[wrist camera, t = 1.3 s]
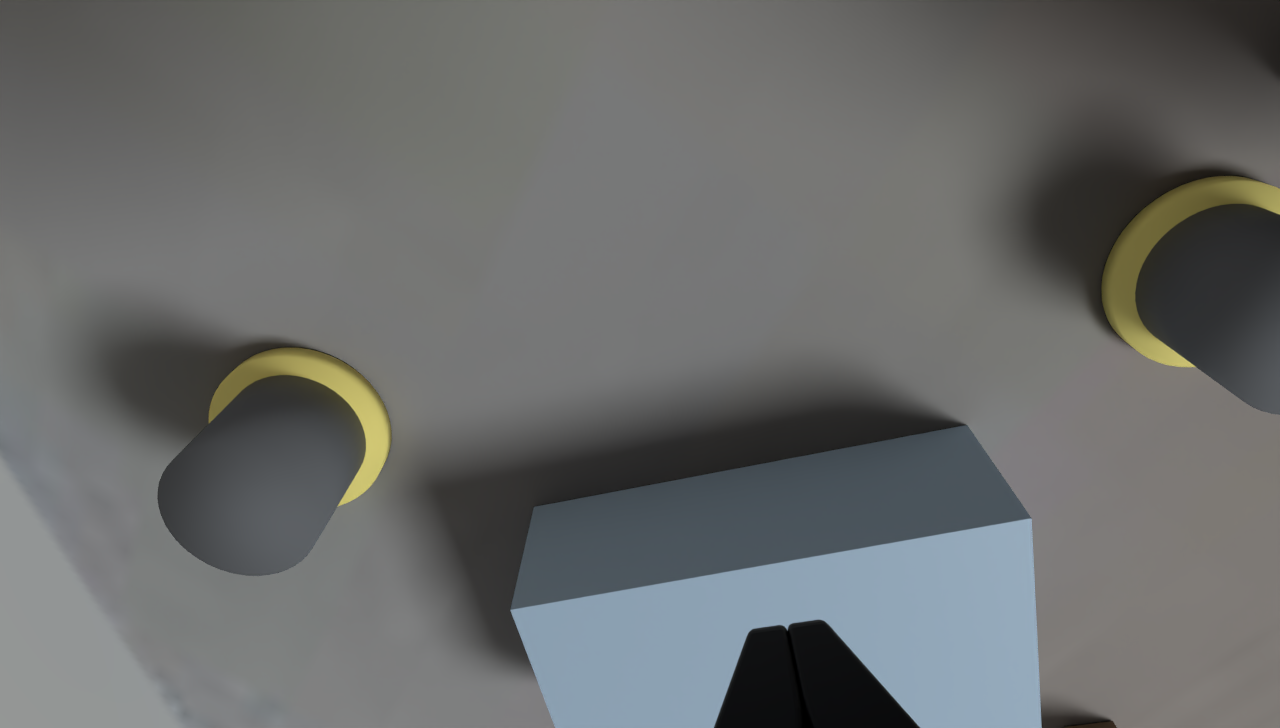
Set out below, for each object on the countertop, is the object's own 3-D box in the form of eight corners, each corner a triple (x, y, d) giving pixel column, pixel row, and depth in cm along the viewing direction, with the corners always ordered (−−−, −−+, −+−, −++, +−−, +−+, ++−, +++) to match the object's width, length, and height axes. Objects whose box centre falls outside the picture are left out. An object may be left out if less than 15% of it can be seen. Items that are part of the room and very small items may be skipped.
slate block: (963, 419, 22) (1031, 518, 18) (980, 617, 25) (1042, 740, 21) (535, 501, 24) (510, 609, 20) (596, 680, 27) (585, 808, 23)
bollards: (1313, 158, 19) (1466, 201, 15) (1288, 339, 21) (1419, 416, 17) (191, 364, 22) (98, 441, 18) (258, 508, 24) (187, 604, 20)
